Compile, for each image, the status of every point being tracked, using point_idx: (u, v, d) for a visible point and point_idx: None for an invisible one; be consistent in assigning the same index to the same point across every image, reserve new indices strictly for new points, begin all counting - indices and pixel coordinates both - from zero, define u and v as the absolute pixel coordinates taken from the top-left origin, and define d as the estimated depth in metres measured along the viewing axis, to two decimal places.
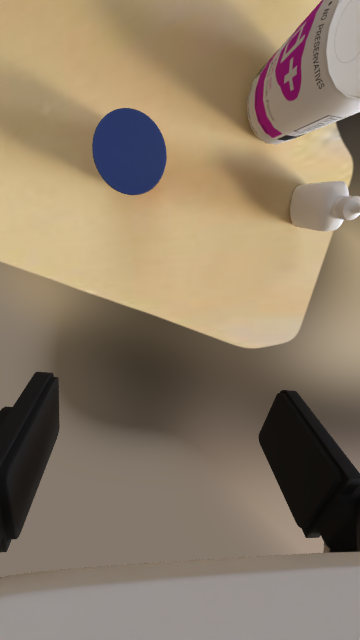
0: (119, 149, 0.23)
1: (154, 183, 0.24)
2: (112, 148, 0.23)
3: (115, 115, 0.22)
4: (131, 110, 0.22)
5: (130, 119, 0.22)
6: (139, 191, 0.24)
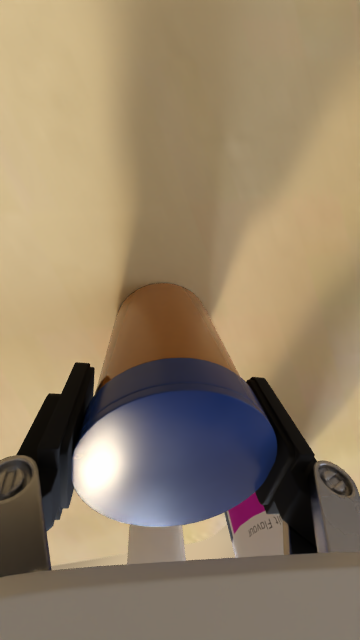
0: (185, 449, 0.08)
1: (121, 519, 0.09)
2: (184, 435, 0.07)
3: (262, 433, 0.08)
4: (272, 459, 0.08)
5: (254, 460, 0.08)
6: (90, 500, 0.08)
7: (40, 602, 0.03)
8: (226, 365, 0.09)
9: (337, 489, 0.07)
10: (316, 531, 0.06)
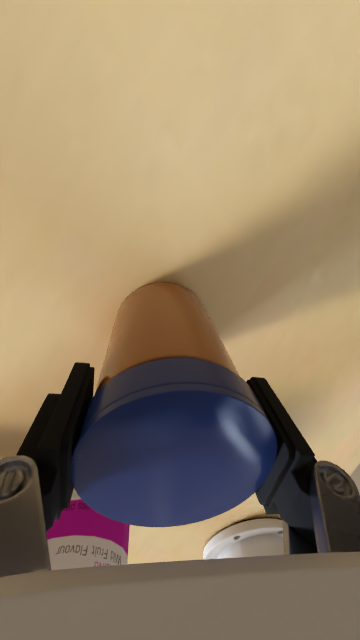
0: (185, 450, 0.08)
1: (121, 519, 0.09)
2: (185, 436, 0.07)
3: (262, 433, 0.08)
4: (272, 459, 0.08)
5: (254, 460, 0.08)
6: (90, 500, 0.08)
7: (40, 602, 0.03)
8: None
9: (338, 489, 0.07)
10: (316, 531, 0.06)
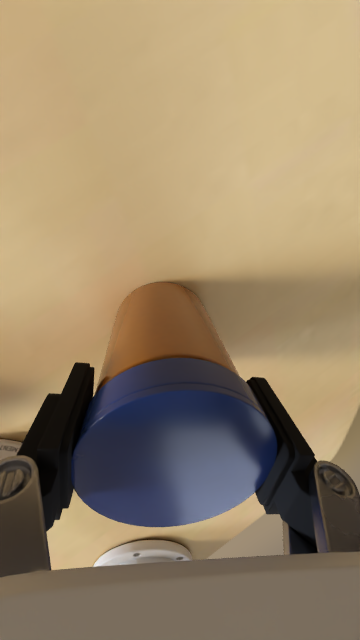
0: (185, 450, 0.08)
1: (121, 519, 0.09)
2: (184, 436, 0.07)
3: (262, 433, 0.08)
4: (272, 459, 0.08)
5: (254, 460, 0.08)
6: (90, 500, 0.08)
7: (40, 602, 0.03)
8: None
9: (338, 489, 0.07)
10: (316, 531, 0.06)
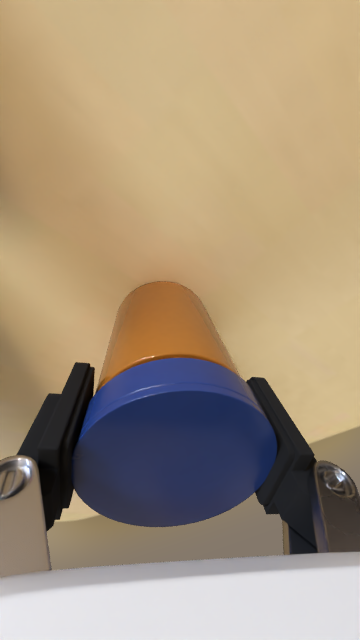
0: (185, 450, 0.08)
1: (121, 519, 0.09)
2: (184, 435, 0.07)
3: (262, 433, 0.08)
4: (272, 459, 0.08)
5: (254, 460, 0.08)
6: (89, 500, 0.08)
7: (40, 602, 0.03)
8: None
9: (337, 489, 0.07)
10: (316, 531, 0.06)
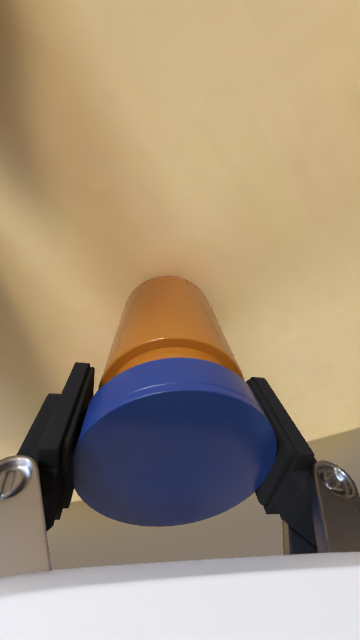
0: (185, 449, 0.08)
1: (121, 519, 0.09)
2: (184, 435, 0.07)
3: (262, 432, 0.08)
4: (272, 459, 0.08)
5: (254, 460, 0.08)
6: (90, 499, 0.08)
7: (40, 602, 0.03)
8: None
9: (337, 489, 0.07)
10: (316, 531, 0.06)
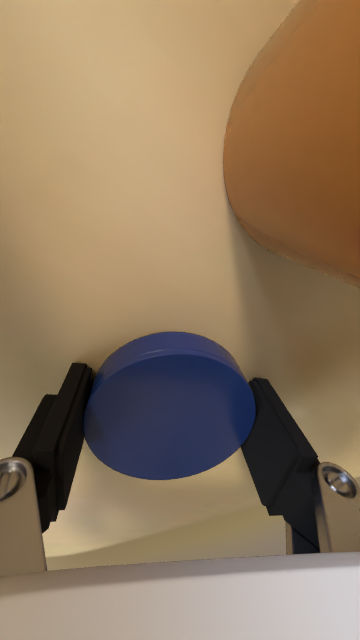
0: (178, 407, 0.09)
1: (125, 471, 0.11)
2: (178, 394, 0.09)
3: (242, 393, 0.09)
4: (252, 417, 0.10)
5: (237, 418, 0.10)
6: (98, 452, 0.10)
7: (40, 602, 0.03)
8: None
9: (341, 490, 0.07)
10: (320, 533, 0.06)
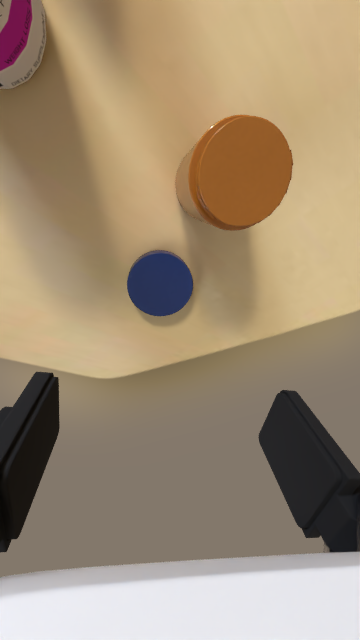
0: (162, 277, 0.25)
1: (141, 309, 0.26)
2: (162, 271, 0.25)
3: (186, 272, 0.25)
4: (191, 285, 0.26)
5: (185, 284, 0.26)
6: (132, 297, 0.26)
7: (40, 602, 0.03)
8: (224, 229, 0.17)
9: None
10: None
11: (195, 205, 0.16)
